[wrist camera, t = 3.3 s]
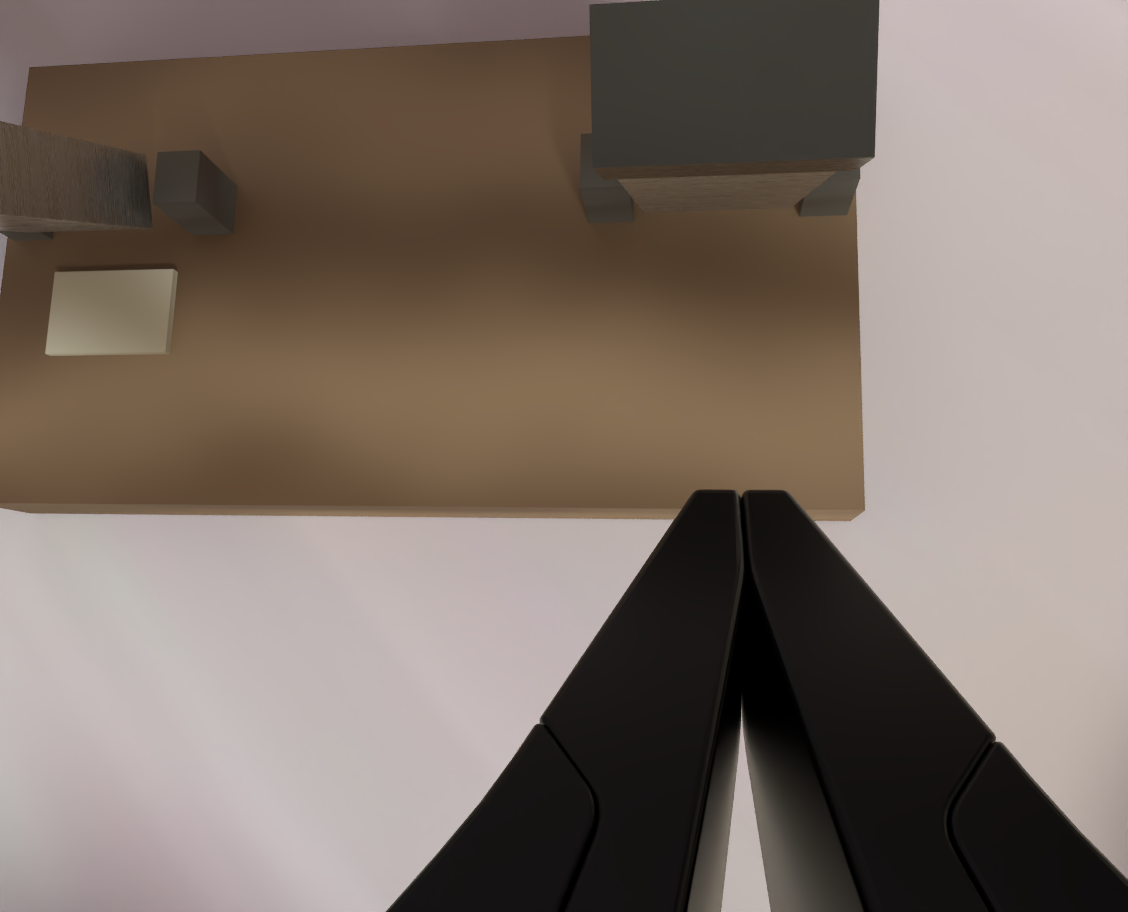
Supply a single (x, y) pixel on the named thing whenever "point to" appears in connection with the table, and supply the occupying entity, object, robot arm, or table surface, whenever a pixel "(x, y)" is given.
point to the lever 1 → (69, 184)
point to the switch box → (414, 305)
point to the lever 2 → (731, 99)
